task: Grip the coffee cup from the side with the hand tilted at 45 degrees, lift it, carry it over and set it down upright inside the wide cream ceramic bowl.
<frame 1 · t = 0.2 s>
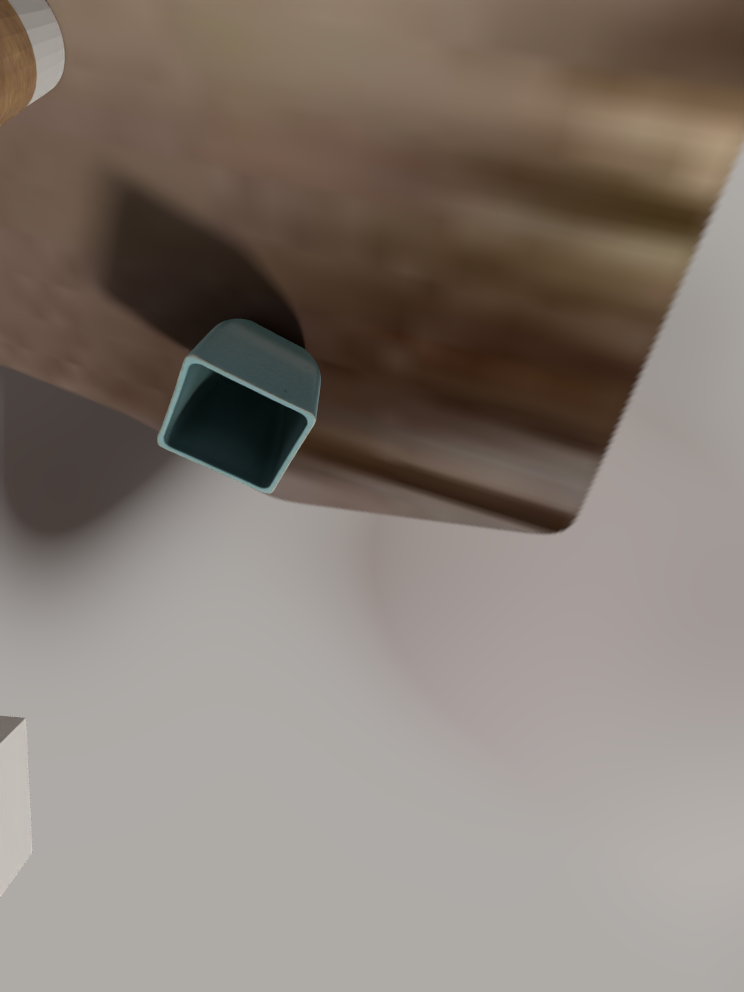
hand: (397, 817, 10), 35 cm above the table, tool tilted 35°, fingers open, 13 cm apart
flower pot: (267, 358, 46), on the table
coffee cup: (13, 31, 33), on the table
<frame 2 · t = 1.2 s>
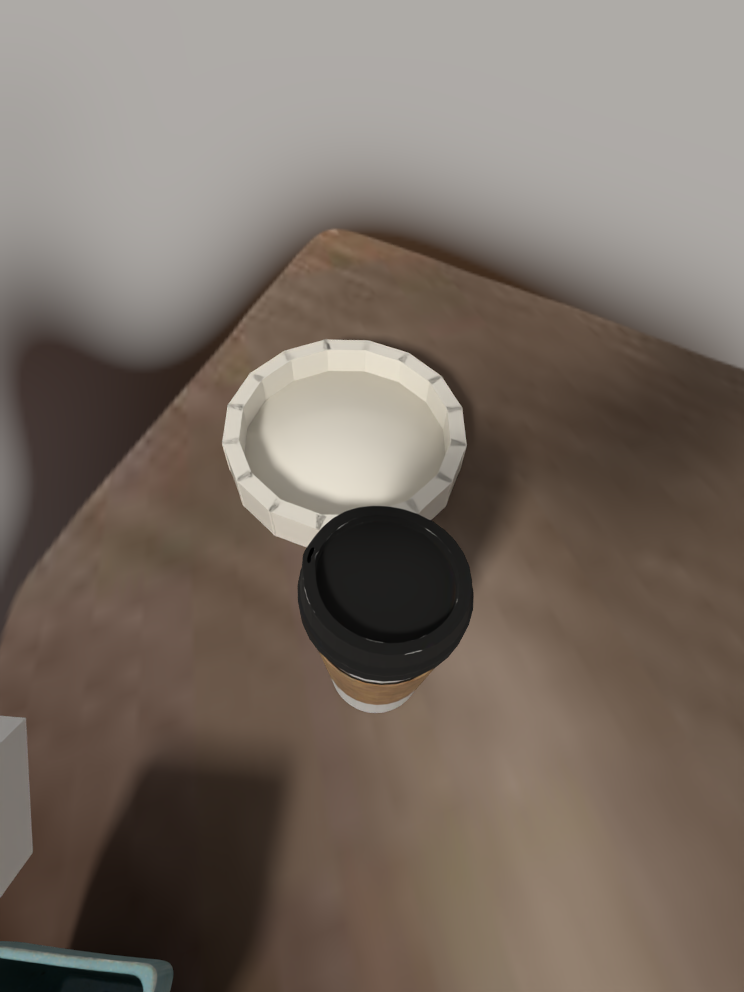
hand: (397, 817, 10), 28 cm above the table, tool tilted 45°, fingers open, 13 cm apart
serving bowl: (345, 451, 49), on the table
coffee cup: (375, 668, 40), on the table
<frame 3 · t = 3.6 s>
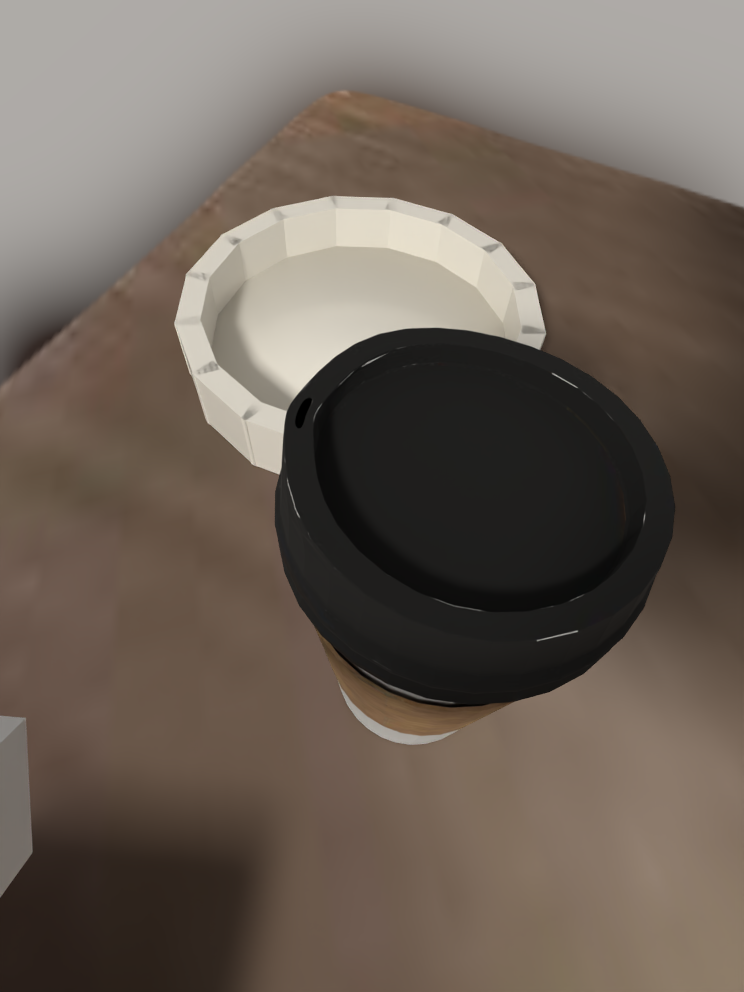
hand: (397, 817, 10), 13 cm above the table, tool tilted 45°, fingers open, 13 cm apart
serving bowl: (360, 352, 34), on the table
coffee cup: (410, 669, 24), on the table
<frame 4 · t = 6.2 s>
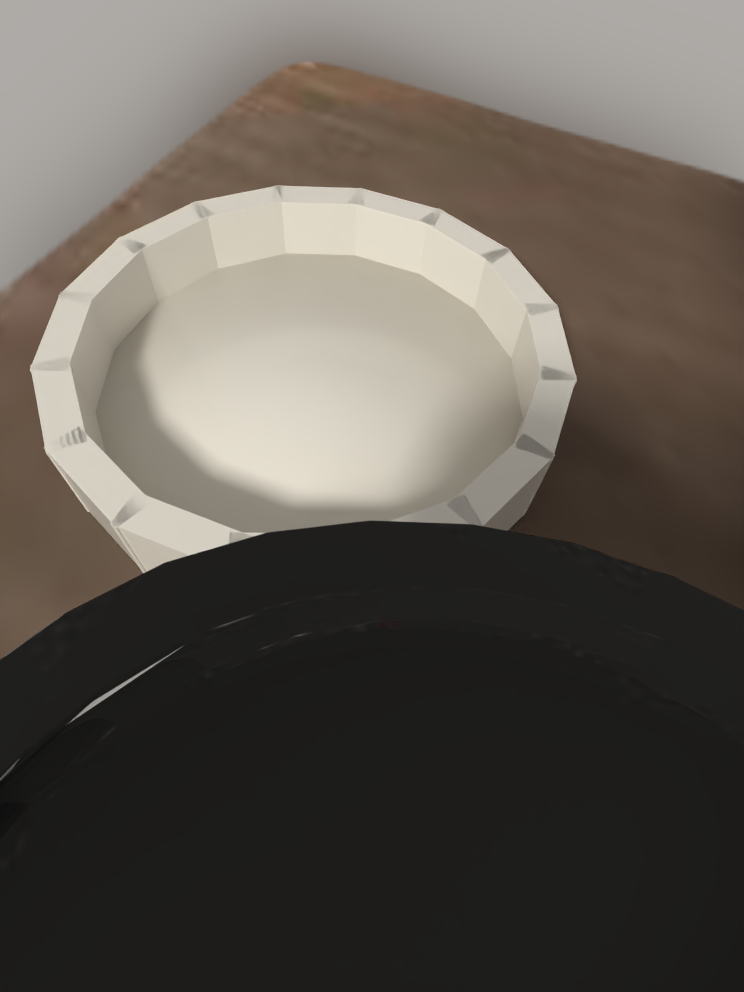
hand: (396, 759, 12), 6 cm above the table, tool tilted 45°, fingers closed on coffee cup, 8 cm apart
serving bowl: (314, 400, 24), on the table
coffee cup: (372, 943, 15), on the table, touching gripper
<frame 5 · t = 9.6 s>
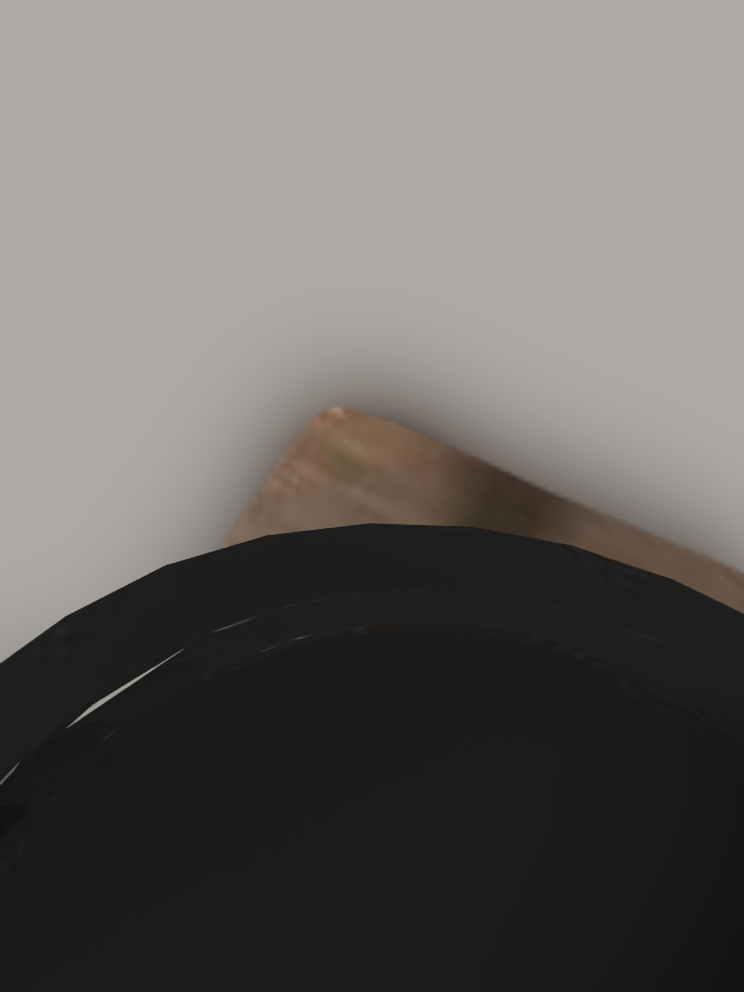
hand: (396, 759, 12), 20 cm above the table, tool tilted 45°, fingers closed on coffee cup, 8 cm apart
coffee cup: (372, 944, 15), point 15 cm above the table, touching gripper
when the fingers open (7 cm above the table, at t = 13.2 s): coffee cup stays where it is, resting on serving bowl.
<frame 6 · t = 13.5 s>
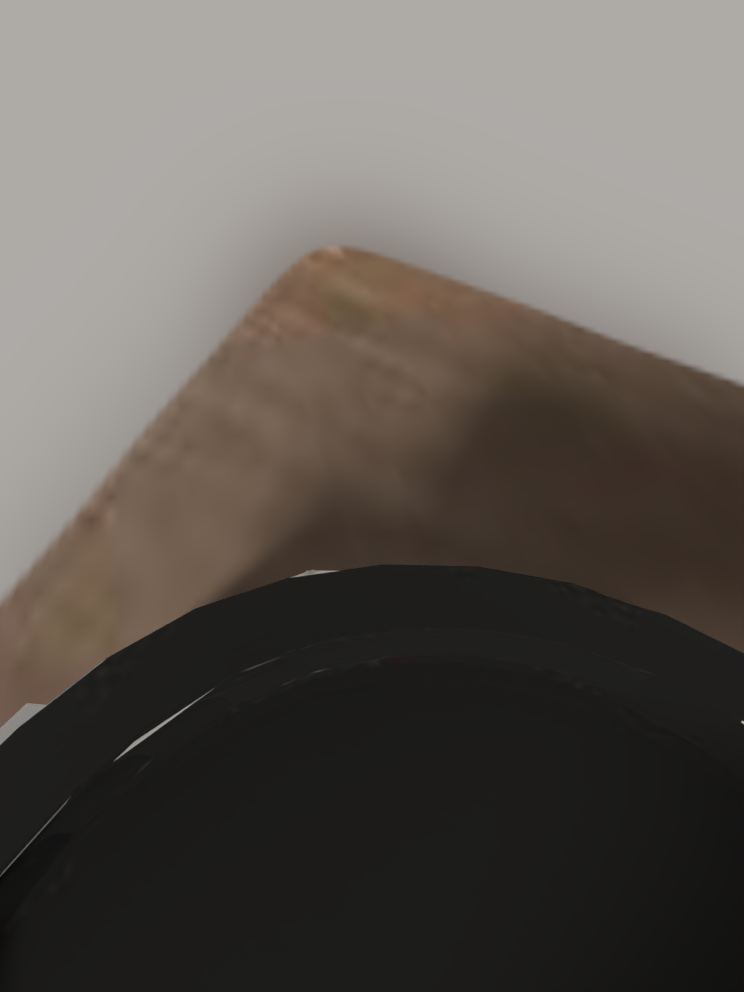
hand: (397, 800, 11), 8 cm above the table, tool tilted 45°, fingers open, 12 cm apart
coffee cup: (378, 946, 15), point 1 cm above the table, touching serving bowl
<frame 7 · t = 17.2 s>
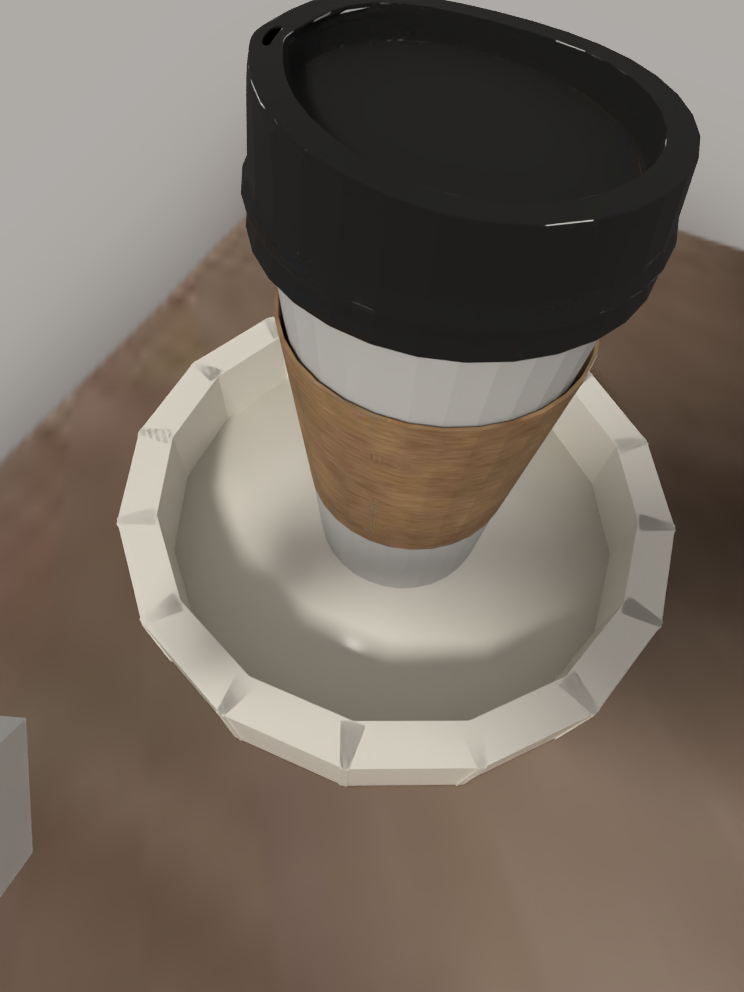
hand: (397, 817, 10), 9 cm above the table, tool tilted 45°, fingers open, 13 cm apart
serving bowl: (392, 527, 24), on the table
coffee cup: (399, 520, 23), point 1 cm above the table, touching serving bowl
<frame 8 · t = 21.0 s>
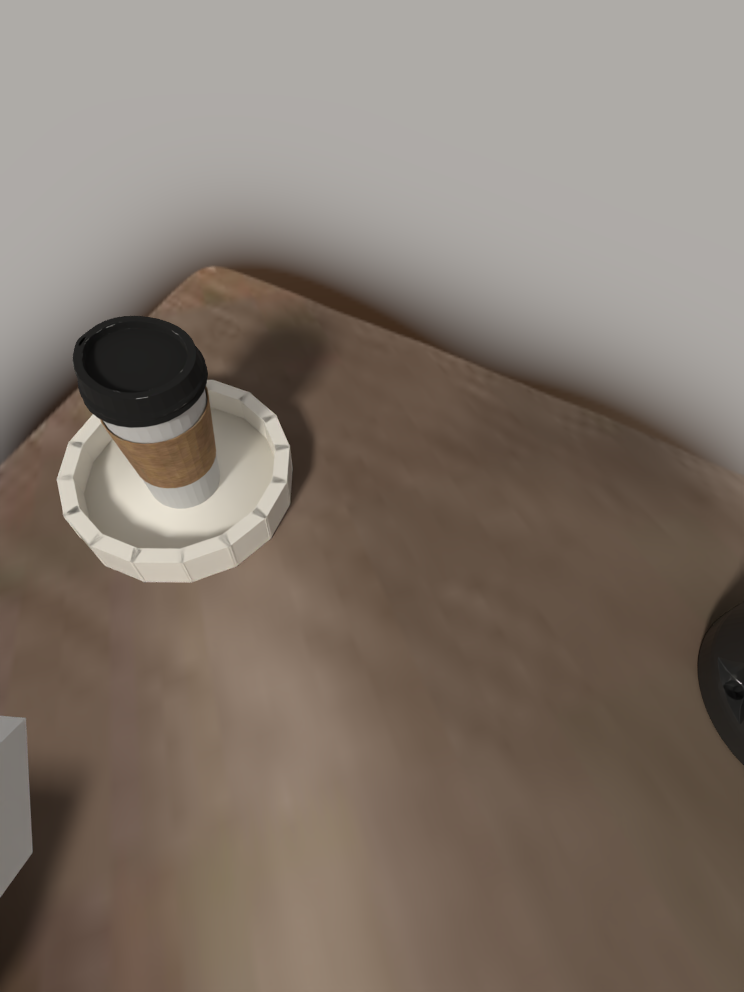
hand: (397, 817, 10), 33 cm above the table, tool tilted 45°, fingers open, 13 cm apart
serving bowl: (185, 485, 52), on the table
coffee cup: (186, 481, 52), point 1 cm above the table, touching serving bowl
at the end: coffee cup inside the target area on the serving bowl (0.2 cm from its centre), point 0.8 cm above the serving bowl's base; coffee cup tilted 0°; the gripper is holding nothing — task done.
